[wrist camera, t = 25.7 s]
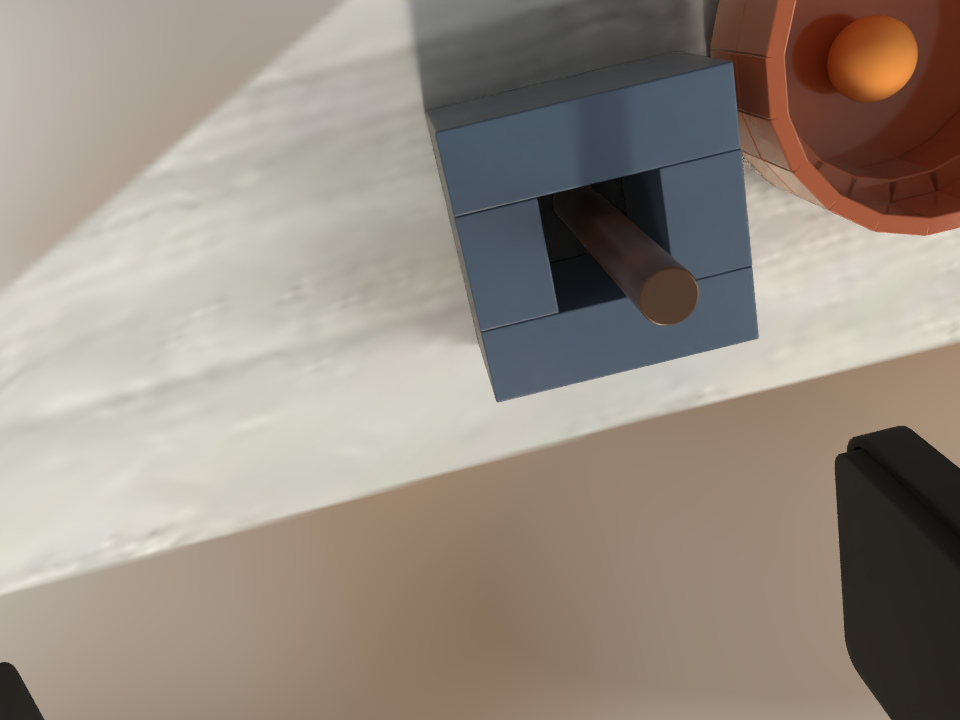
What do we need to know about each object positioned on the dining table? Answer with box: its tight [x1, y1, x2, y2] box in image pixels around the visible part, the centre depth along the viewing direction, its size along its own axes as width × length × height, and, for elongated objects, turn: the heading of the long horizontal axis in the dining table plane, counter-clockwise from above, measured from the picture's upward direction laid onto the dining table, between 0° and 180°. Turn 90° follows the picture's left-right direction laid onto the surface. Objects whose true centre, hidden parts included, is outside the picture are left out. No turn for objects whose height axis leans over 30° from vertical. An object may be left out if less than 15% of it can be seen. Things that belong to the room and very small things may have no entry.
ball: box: [827, 15, 918, 103], centre depth 34 cm, size 3×3×3 cm
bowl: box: [710, 0, 960, 236], centre depth 33 cm, size 13×13×6 cm
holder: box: [425, 51, 759, 402], centre depth 34 cm, size 10×10×6 cm
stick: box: [553, 185, 699, 326], centre depth 31 cm, size 2×2×13 cm
